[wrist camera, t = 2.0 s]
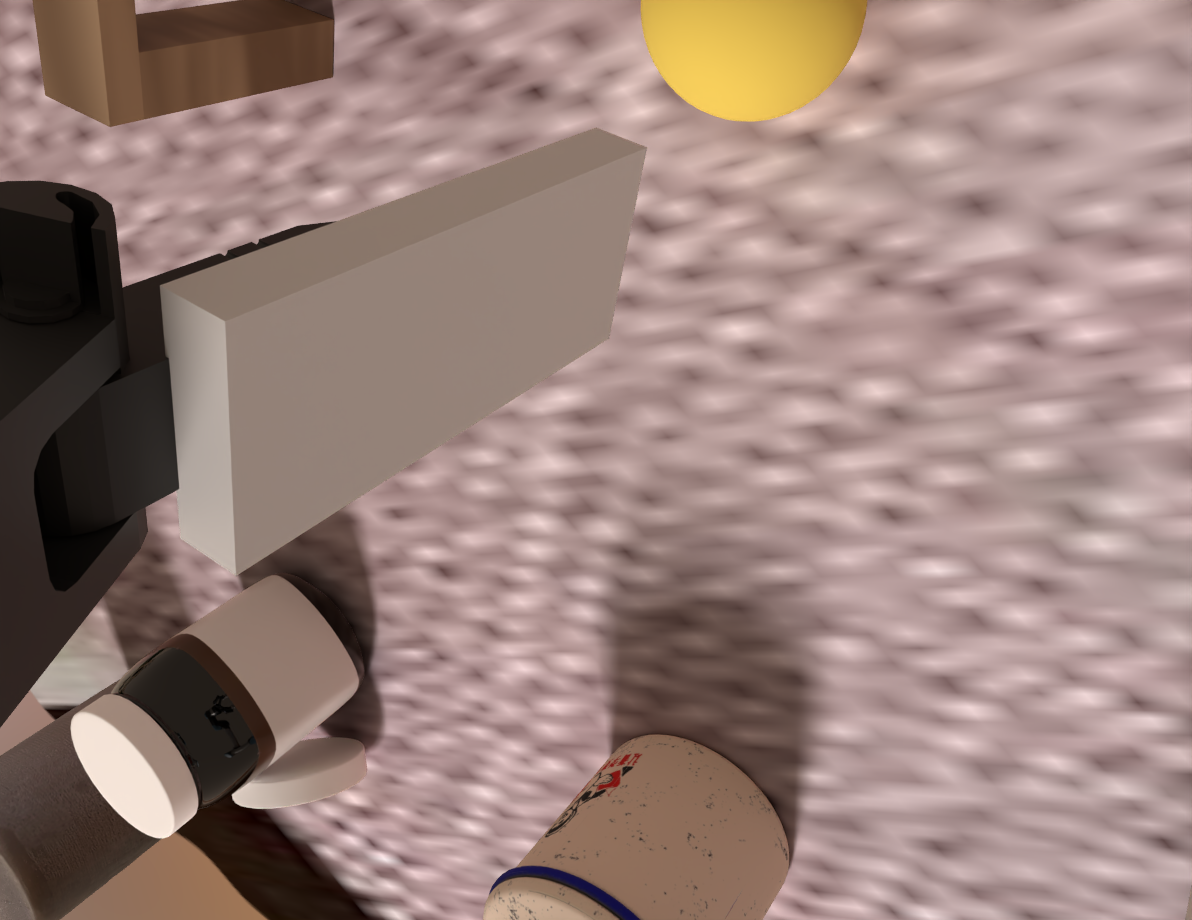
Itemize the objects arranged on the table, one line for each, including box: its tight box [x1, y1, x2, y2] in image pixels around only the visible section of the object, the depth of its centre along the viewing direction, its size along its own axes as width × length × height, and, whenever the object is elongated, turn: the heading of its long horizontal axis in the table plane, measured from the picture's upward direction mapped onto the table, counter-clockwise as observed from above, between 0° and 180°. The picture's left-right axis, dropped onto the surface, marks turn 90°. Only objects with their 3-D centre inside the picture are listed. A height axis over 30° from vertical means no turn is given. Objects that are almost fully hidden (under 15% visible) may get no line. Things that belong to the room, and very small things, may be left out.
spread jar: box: [71, 573, 367, 838], centre depth 52 cm, size 12×11×12 cm
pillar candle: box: [0, 680, 198, 920], centre depth 63 cm, size 10×10×15 cm
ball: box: [641, 0, 867, 121], centre depth 26 cm, size 6×6×6 cm
